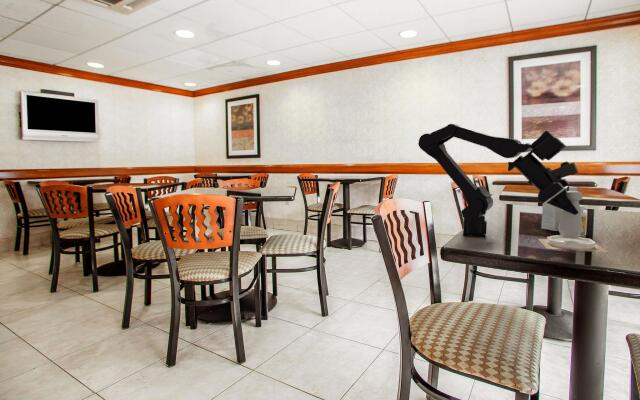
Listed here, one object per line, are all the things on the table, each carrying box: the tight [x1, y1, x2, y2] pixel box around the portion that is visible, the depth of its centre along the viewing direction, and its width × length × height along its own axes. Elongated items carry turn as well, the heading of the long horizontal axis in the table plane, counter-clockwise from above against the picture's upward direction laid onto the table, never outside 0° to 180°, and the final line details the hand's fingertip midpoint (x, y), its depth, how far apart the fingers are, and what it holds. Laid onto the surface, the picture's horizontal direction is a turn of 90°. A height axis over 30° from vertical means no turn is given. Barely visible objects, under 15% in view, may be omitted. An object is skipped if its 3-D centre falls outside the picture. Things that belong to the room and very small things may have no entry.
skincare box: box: [540, 185, 578, 232], centre depth 124 cm, size 8×6×15 cm
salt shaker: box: [558, 190, 584, 239], centre depth 103 cm, size 6×6×13 cm
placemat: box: [537, 238, 608, 253], centre depth 104 cm, size 14×12×1 cm
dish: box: [546, 234, 597, 251], centre depth 104 cm, size 11×11×2 cm
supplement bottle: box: [579, 204, 587, 237], centre depth 116 cm, size 5×5×10 cm
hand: (577, 212), depth 102 cm, fingers closed on salt shaker, 3 cm apart
